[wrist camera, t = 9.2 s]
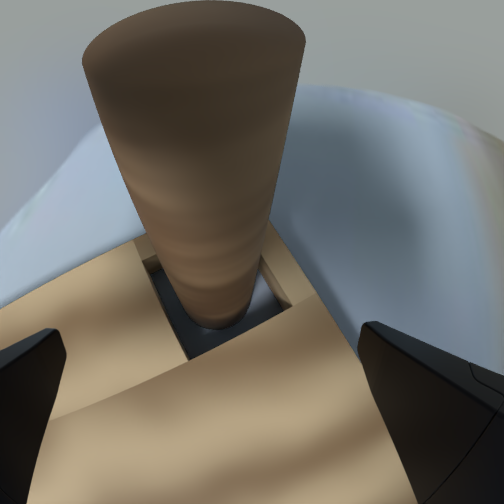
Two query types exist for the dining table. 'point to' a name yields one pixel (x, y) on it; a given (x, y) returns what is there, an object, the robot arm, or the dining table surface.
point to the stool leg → (200, 137)
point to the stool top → (202, 397)
